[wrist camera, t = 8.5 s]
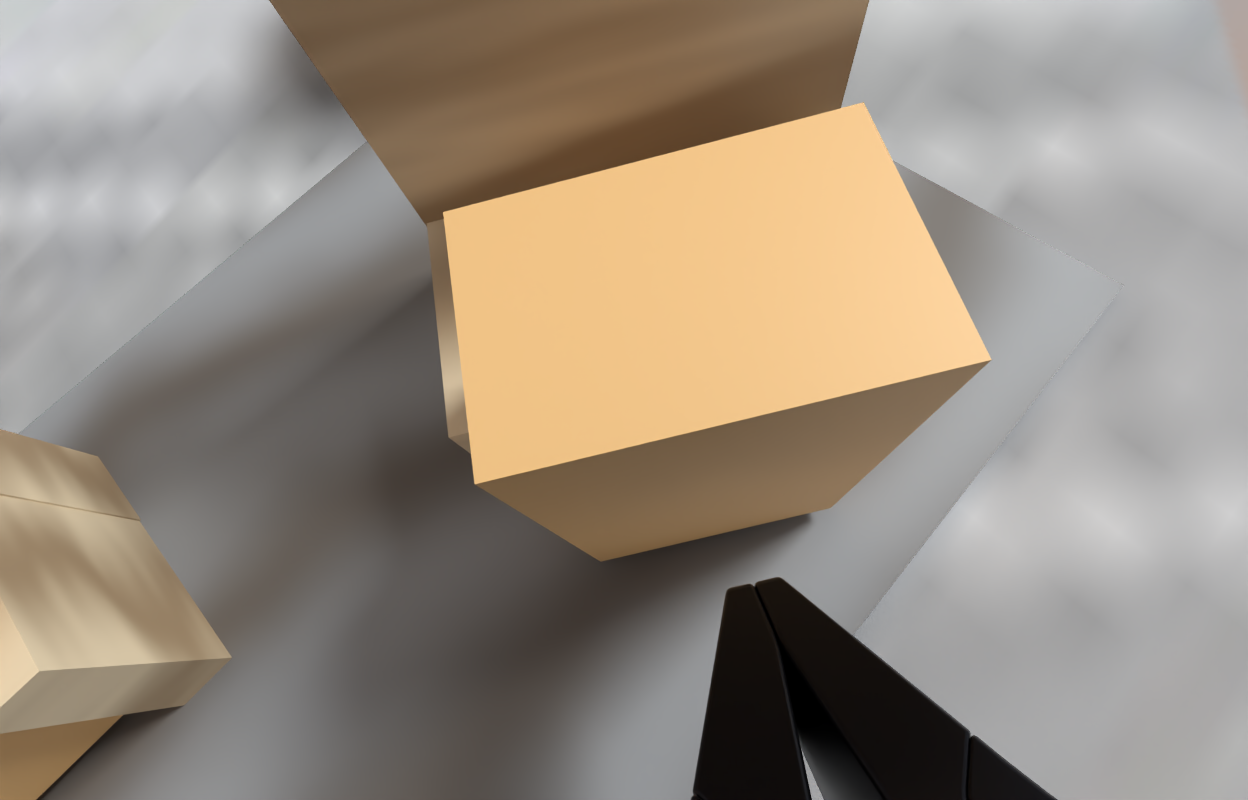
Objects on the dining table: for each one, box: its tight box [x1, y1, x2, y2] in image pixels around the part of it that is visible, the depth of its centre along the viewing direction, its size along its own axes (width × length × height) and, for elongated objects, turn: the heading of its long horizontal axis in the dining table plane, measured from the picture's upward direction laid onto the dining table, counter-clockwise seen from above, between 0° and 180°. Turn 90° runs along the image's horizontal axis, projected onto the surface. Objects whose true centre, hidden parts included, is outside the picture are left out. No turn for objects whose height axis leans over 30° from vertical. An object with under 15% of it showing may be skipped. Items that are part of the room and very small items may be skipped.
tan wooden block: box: [443, 102, 992, 562], centre depth 12 cm, size 4×6×9 cm, turn 102°
